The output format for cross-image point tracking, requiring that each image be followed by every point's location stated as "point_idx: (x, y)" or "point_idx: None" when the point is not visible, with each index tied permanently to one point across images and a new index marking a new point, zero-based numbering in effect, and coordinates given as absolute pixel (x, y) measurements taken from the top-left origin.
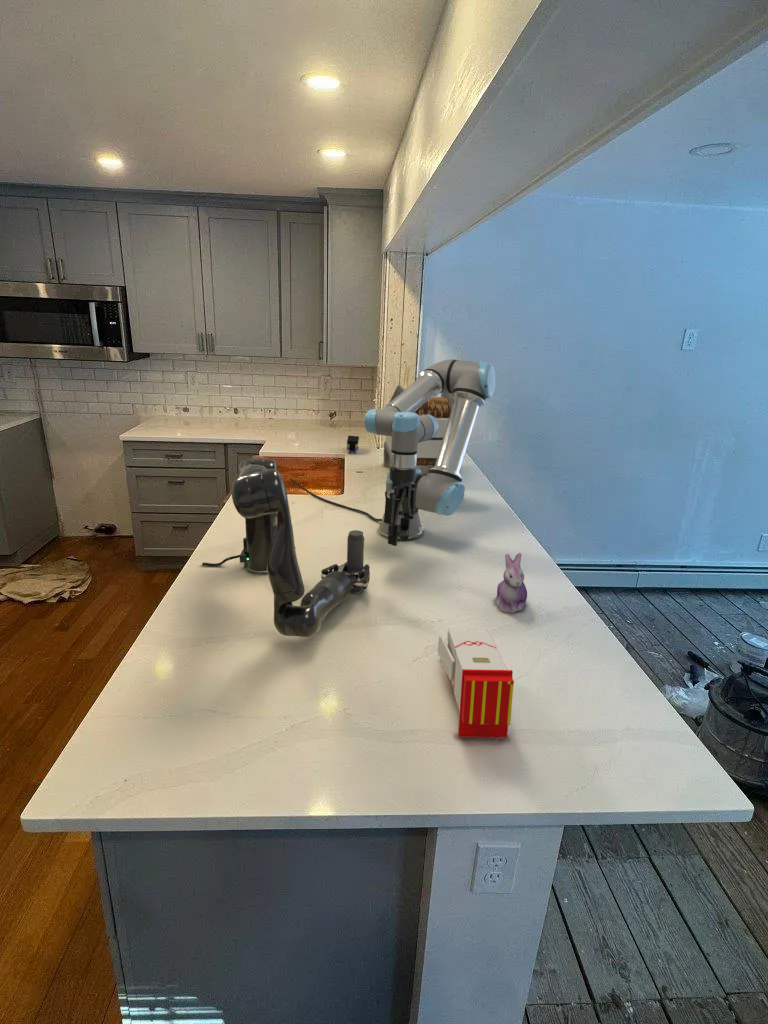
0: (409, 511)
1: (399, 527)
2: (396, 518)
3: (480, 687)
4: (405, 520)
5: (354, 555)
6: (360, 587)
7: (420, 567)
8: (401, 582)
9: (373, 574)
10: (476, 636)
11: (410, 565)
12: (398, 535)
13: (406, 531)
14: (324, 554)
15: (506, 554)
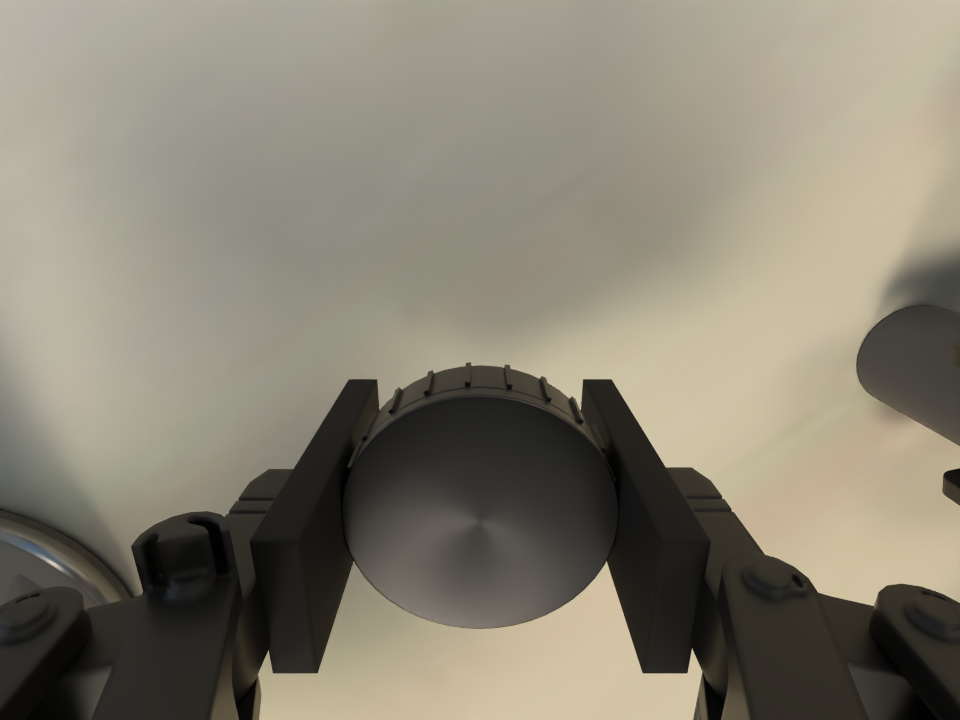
0: (176, 716)
1: (448, 536)
2: (794, 676)
3: None
4: (312, 579)
5: None
6: (955, 314)
7: (340, 207)
8: (651, 172)
9: (654, 391)
10: None
11: (367, 285)
12: (592, 428)
13: (488, 390)
14: (595, 714)
15: None
